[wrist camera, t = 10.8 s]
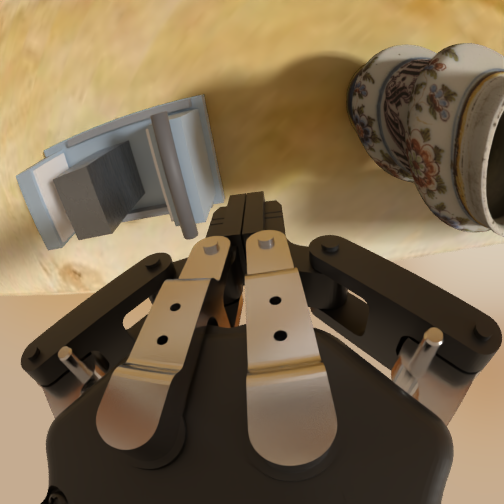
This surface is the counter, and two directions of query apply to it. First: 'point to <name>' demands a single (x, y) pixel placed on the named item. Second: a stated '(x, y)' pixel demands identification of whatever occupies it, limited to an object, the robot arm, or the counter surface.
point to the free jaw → (182, 167)
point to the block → (100, 190)
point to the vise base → (86, 143)
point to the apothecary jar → (437, 127)
